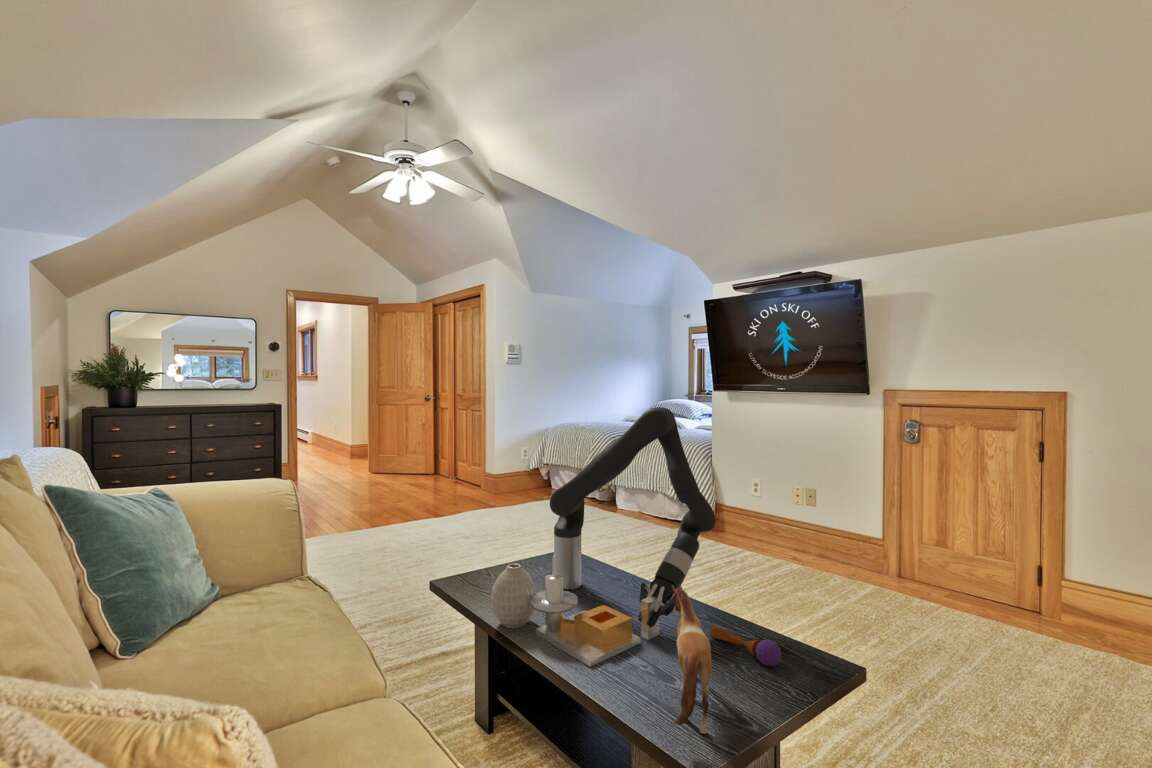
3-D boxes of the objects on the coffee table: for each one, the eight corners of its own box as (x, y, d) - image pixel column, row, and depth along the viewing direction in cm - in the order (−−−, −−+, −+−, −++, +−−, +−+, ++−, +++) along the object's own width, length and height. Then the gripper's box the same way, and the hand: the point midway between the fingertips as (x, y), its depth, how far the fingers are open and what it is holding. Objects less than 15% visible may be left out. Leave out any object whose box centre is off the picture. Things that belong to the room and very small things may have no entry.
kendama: (722, 619, 150) (787, 643, 133) (721, 642, 149) (785, 669, 132) (707, 620, 146) (772, 645, 130) (706, 644, 145) (770, 671, 129)
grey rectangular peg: (641, 636, 147) (641, 600, 147) (651, 631, 150) (651, 595, 150) (648, 640, 146) (648, 603, 145) (658, 634, 148) (658, 598, 148)
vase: (527, 610, 163) (527, 555, 163) (543, 628, 152) (543, 569, 151) (485, 619, 158) (485, 561, 158) (499, 638, 146) (499, 576, 146)
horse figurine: (671, 665, 133) (671, 582, 132) (703, 668, 131) (704, 584, 131) (672, 753, 102) (672, 644, 102) (714, 758, 101) (715, 648, 100)
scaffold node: (520, 632, 150) (520, 576, 149) (577, 611, 163) (577, 559, 163) (582, 670, 130) (582, 606, 130) (640, 643, 144) (640, 584, 144)
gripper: (649, 554, 158) (619, 608, 150) (688, 567, 147) (658, 626, 139) (661, 568, 161) (632, 621, 153) (699, 582, 151) (671, 640, 143)
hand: (644, 623), depth 146 cm, fingers closed on grey rectangular peg, 2 cm apart
